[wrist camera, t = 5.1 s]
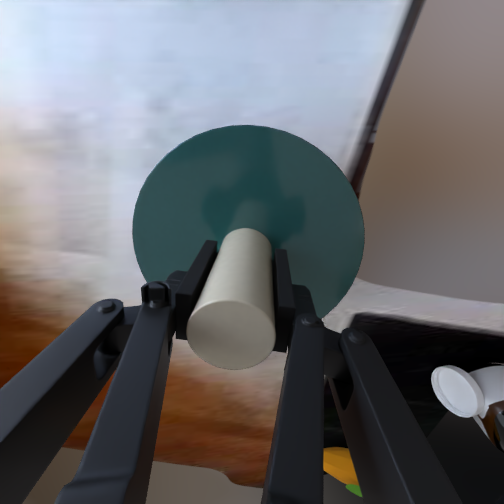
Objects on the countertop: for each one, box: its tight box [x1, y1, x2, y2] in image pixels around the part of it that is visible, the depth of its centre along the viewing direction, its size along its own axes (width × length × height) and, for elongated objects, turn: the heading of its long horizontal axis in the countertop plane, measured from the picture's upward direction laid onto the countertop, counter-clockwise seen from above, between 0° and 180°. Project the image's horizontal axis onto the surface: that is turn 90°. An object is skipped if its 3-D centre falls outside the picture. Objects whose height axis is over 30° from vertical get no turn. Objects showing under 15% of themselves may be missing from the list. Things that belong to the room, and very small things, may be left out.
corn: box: [323, 444, 362, 497], centre depth 48 cm, size 7×8×20 cm
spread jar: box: [431, 363, 504, 453], centre depth 37 cm, size 12×11×12 cm
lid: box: [132, 125, 364, 370], centre depth 16 cm, size 17×17×10 cm
